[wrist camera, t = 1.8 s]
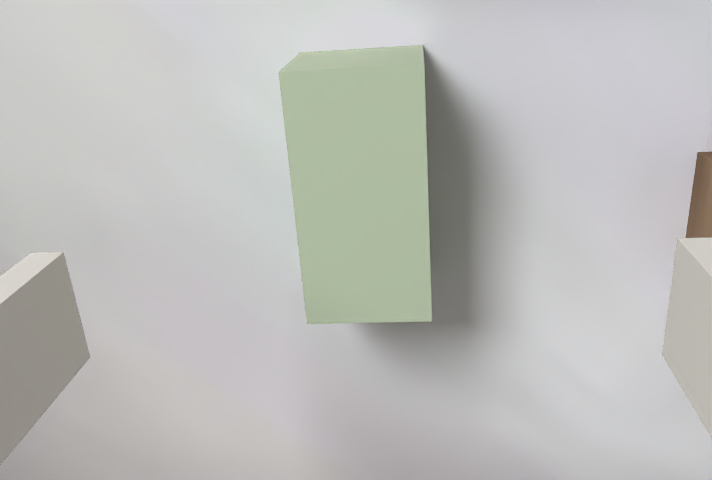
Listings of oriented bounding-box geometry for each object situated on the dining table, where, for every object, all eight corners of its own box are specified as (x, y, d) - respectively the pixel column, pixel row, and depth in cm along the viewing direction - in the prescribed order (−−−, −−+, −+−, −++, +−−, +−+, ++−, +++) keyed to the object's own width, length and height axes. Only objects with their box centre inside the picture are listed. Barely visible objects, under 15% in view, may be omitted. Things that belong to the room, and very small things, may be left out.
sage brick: (429, 266, 25) (431, 321, 21) (323, 269, 25) (307, 323, 22) (422, 44, 22) (424, 63, 18) (301, 51, 22) (278, 71, 18)
